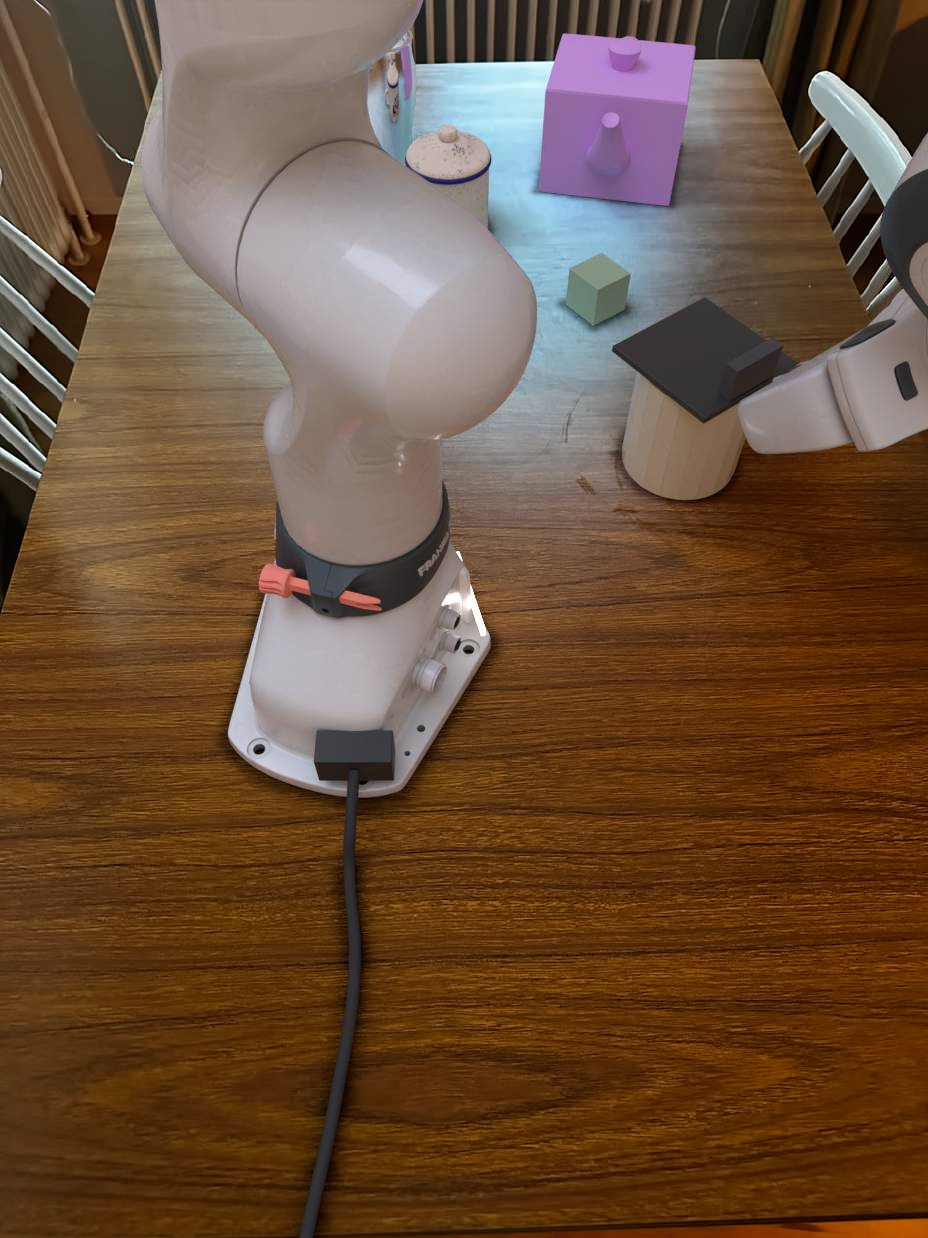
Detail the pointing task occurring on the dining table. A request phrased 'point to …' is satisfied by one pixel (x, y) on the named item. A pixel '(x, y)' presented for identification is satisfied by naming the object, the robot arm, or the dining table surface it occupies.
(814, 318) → the dining table surface
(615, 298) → the block
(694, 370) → the slider lid
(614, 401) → the dining table surface
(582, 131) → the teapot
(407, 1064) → the dining table surface
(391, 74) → the silver metal cup
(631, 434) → the beige cylindrical container
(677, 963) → the dining table surface
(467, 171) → the teacup with lid
